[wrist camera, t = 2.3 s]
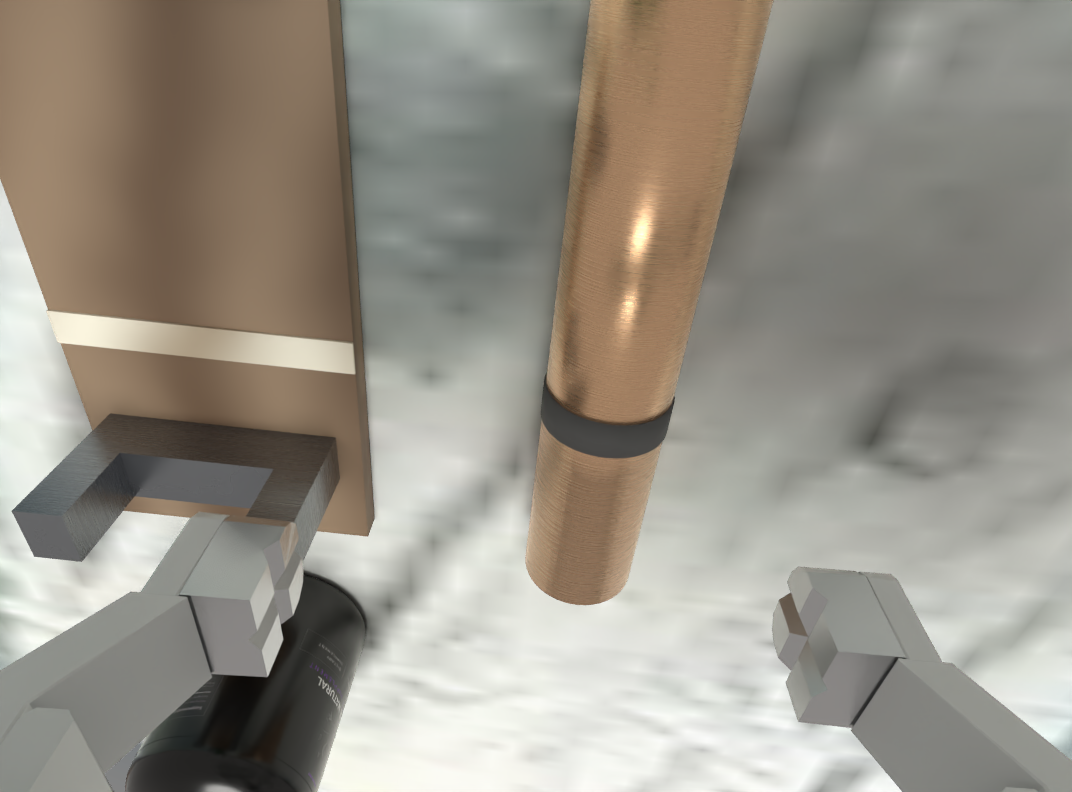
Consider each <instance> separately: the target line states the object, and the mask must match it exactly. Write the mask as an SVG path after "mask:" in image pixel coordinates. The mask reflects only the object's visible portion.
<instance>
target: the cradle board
mask: <svg viewBox="0 0 1072 792" xmlns="http://www.w3.org/2000/svg"><path fill="white" fill-rule="evenodd" d="M0 179H1V182H2V185H3V187H4V190H5V193H6V196H7V198H8V201H9V204H10V206H11V209H12V212H13V215H14V217H15V220H16V223H17V226H18V228H19V231H20V234H21V236H22V239H23V242H24V245H25V247H26V250H27V253H28V256H29V258H30V261H31V264H32V266H33V269H34V272H35V275H36V277H37V280H38V283H39V286H40V288H41V291H42V294H43V296H44V299H45V302H46V305H47V307H48V310H47V311H46V312H47V314H48V317H49V320H50V322H51V325H52V328H53V331H54V333H55V336H56V339H57V341H58V343H61V346H62V348H63V351H64V354H65V356H66V359H67V362H68V365H69V367H70V370H71V373H72V376H73V378H74V381H75V384H76V386H77V389H78V392H79V395H80V397H81V400H82V403H83V405H84V408H85V411H86V414H87V416H88V419H89V422H90V425H91V427H92V430H94V429H95V428H96V427H97V426H98V425H99V424H100V423H101V422H102V421H103V420H104V419H105V418H106V417H107V416H108V415H109V414H110V413H111V414H121V415H130V416H140V417H149V418H158V419H168V420H177V421H186V422H196V423H205V424H215V425H224V426H233V427H243V428H252V429H262V430H271V431H280V432H290V433H299V434H308V435H318V436H327V437H336V442H337V452H338V462H339V472H340V480H339V483H338V485H337V487H336V489H335V491H334V494H333V496H332V498H331V500H330V502H329V505H328V507H327V509H326V511H325V514H324V516H323V518H322V520H321V522H320V525H319V527H318V529H317V531H321V532H331V533H340V534H350V535H359V536H368V535H369V532H370V529H371V527H372V524H373V521H374V506H373V491H372V476H371V461H370V446H369V431H368V416H367V401H366V386H365V371H364V356H363V341H362V326H361V311H360V296H359V280H358V265H357V250H356V235H355V220H354V205H353V190H352V175H351V160H350V145H349V130H348V115H347V100H346V85H345V70H344V55H343V40H342V25H341V10H340V0H0ZM249 510H250V508H240V507H231V506H221V505H212V504H202V503H193V502H183V501H174V500H165V499H155V498H146V497H136V496H135V497H134V498H133V499H132V500H131V502H130V503H129V504H128V505H127V507H126V508H125V509H124V510H123V511H132V512H142V513H151V514H161V515H170V516H179V517H189V518H191V517H192V516H194V515H195V514H197V513H198V512H206V513H214V514H223V515H236V516H245V517H246V515H247V514H248V512H249Z"/></svg>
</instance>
